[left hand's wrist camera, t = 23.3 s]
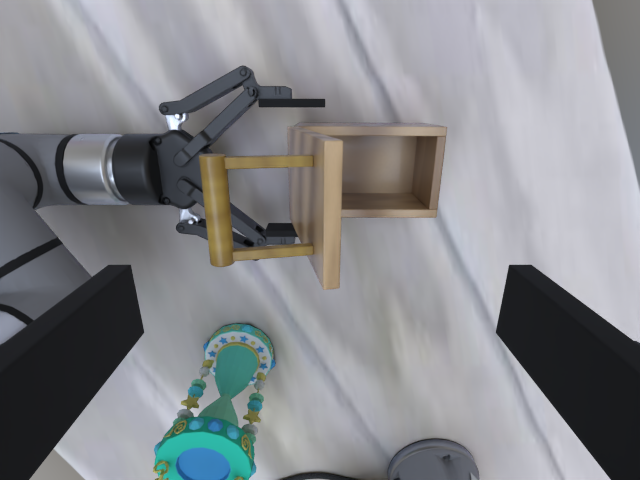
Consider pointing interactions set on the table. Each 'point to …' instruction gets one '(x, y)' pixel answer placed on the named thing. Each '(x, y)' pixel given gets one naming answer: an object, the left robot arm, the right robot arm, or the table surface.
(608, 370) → the left robot arm
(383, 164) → the wooden box
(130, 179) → the right robot arm
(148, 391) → the table surface
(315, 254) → the cabinet door
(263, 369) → the decorative hourglass
